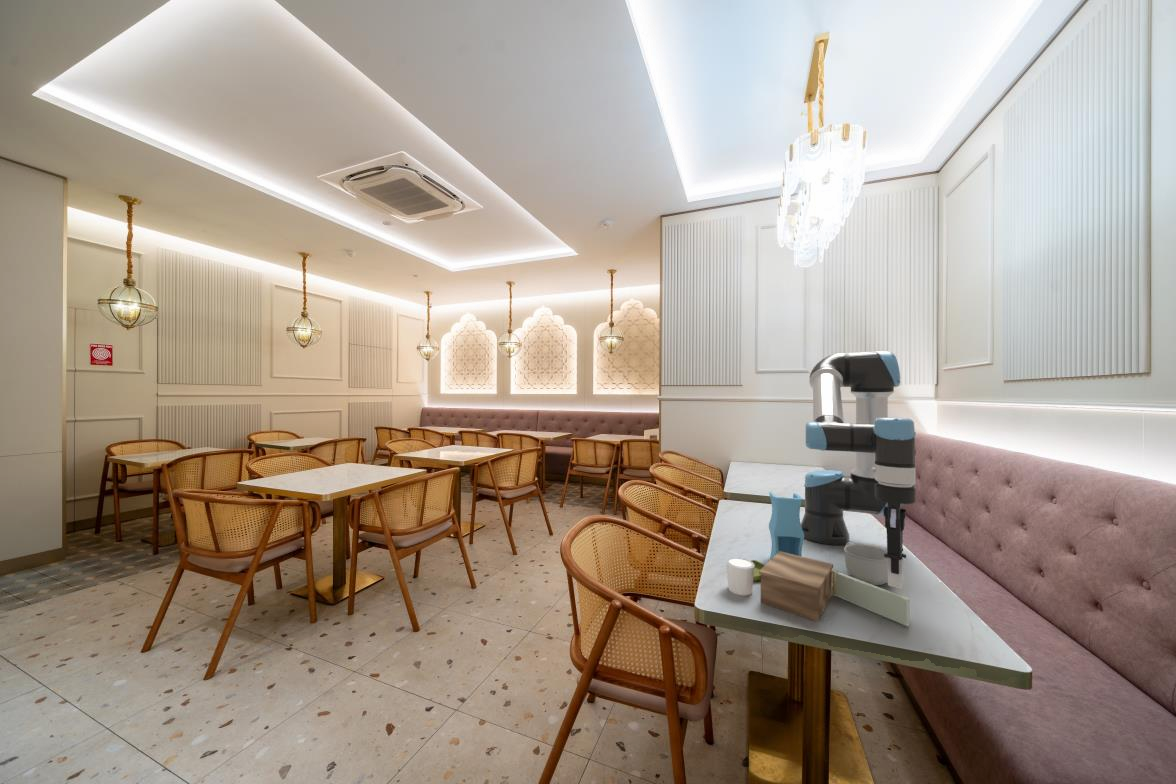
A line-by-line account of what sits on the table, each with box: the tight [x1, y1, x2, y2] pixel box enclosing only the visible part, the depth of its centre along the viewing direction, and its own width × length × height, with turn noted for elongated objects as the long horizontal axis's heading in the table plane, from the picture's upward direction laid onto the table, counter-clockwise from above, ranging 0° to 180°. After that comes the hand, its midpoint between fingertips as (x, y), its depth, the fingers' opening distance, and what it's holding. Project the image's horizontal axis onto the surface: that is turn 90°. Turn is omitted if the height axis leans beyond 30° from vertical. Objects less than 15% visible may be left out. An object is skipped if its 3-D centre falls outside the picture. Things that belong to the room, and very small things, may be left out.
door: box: [832, 570, 911, 627], centre depth 91 cm, size 16×1×6 cm, turn 29°
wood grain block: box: [759, 551, 834, 622], centre depth 96 cm, size 17×13×8 cm
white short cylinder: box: [725, 557, 755, 597], centre depth 100 cm, size 7×7×7 cm
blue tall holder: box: [768, 491, 805, 560], centre depth 117 cm, size 8×8×20 cm
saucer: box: [750, 559, 766, 582], centre depth 110 cm, size 9×9×2 cm
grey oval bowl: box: [843, 541, 888, 586], centre depth 108 cm, size 14×11×8 cm
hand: (895, 585), depth 91 cm, fingers closed
